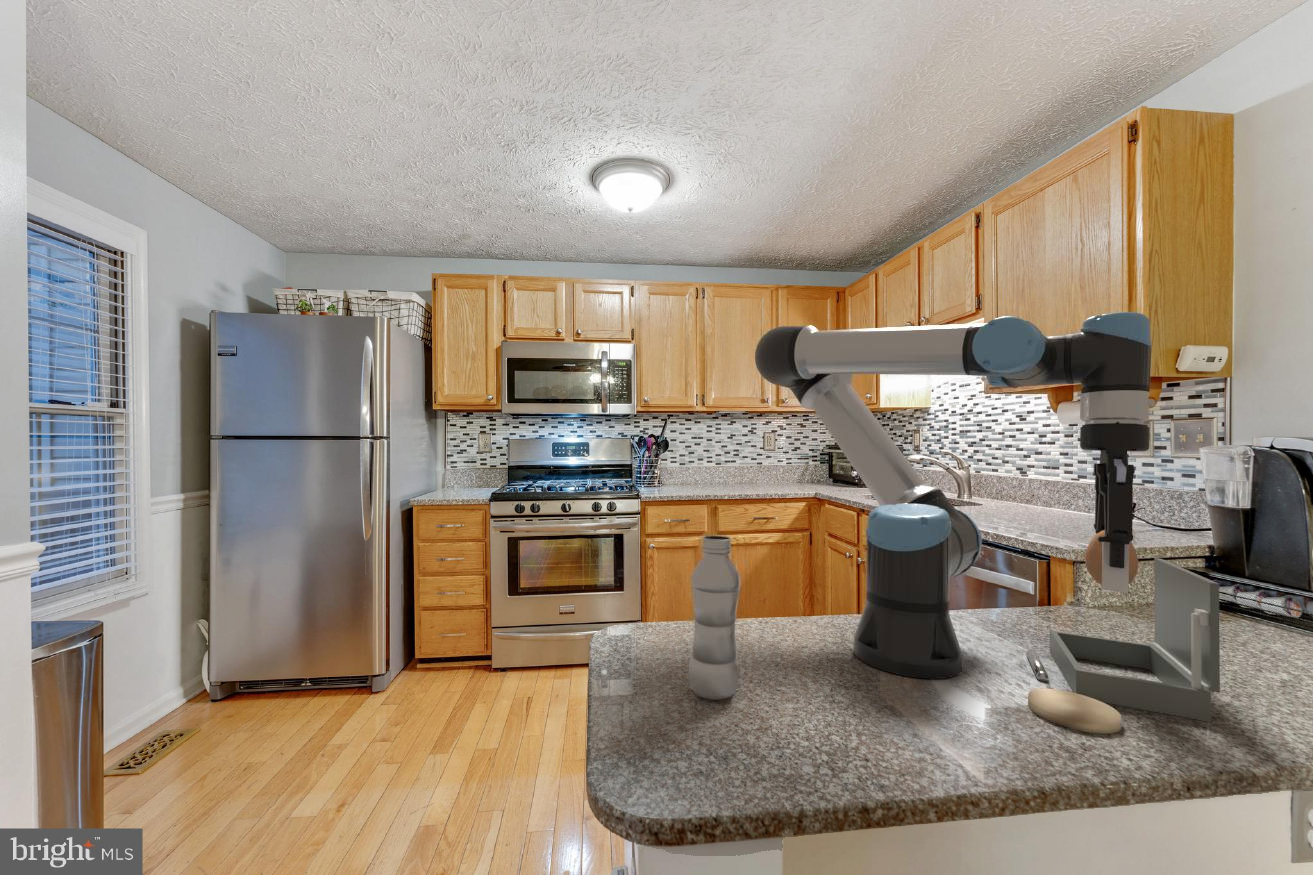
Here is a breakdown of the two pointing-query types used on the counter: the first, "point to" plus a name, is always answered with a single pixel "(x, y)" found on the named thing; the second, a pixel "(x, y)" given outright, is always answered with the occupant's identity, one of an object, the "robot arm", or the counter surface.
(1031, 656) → the rod
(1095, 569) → the egg
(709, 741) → the counter surface
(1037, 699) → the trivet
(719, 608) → the plastic bottle
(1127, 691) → the grey hinged box
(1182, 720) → the counter surface
